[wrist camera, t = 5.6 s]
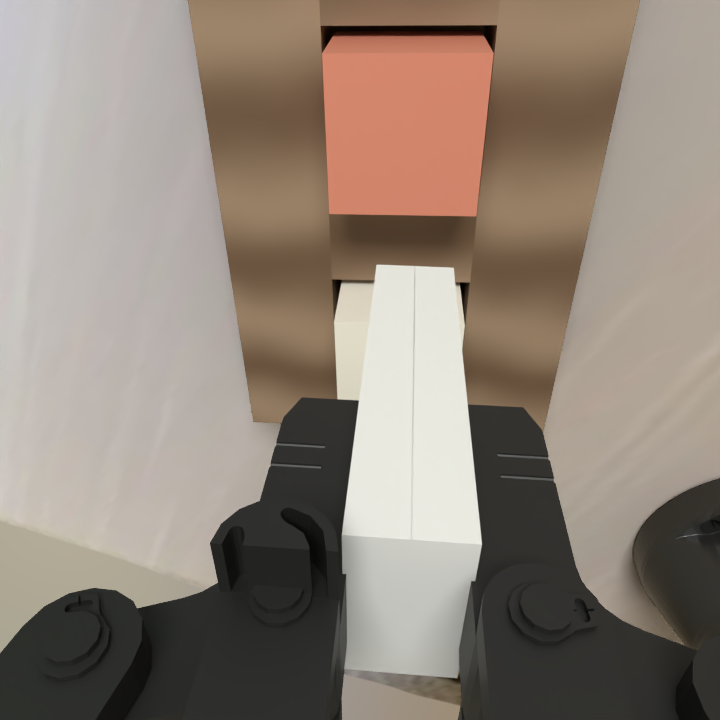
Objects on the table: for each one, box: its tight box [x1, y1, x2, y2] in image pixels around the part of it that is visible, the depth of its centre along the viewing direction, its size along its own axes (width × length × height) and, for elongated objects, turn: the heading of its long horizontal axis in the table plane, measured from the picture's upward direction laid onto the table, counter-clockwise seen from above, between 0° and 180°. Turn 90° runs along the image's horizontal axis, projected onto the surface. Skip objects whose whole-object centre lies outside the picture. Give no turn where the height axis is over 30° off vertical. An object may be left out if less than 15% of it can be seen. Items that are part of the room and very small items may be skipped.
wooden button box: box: [188, 0, 640, 432], centre depth 26 cm, size 33×16×5 cm, turn 1°
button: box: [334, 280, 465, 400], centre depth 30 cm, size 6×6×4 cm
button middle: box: [322, 31, 494, 216], centre depth 23 cm, size 6×6×4 cm
